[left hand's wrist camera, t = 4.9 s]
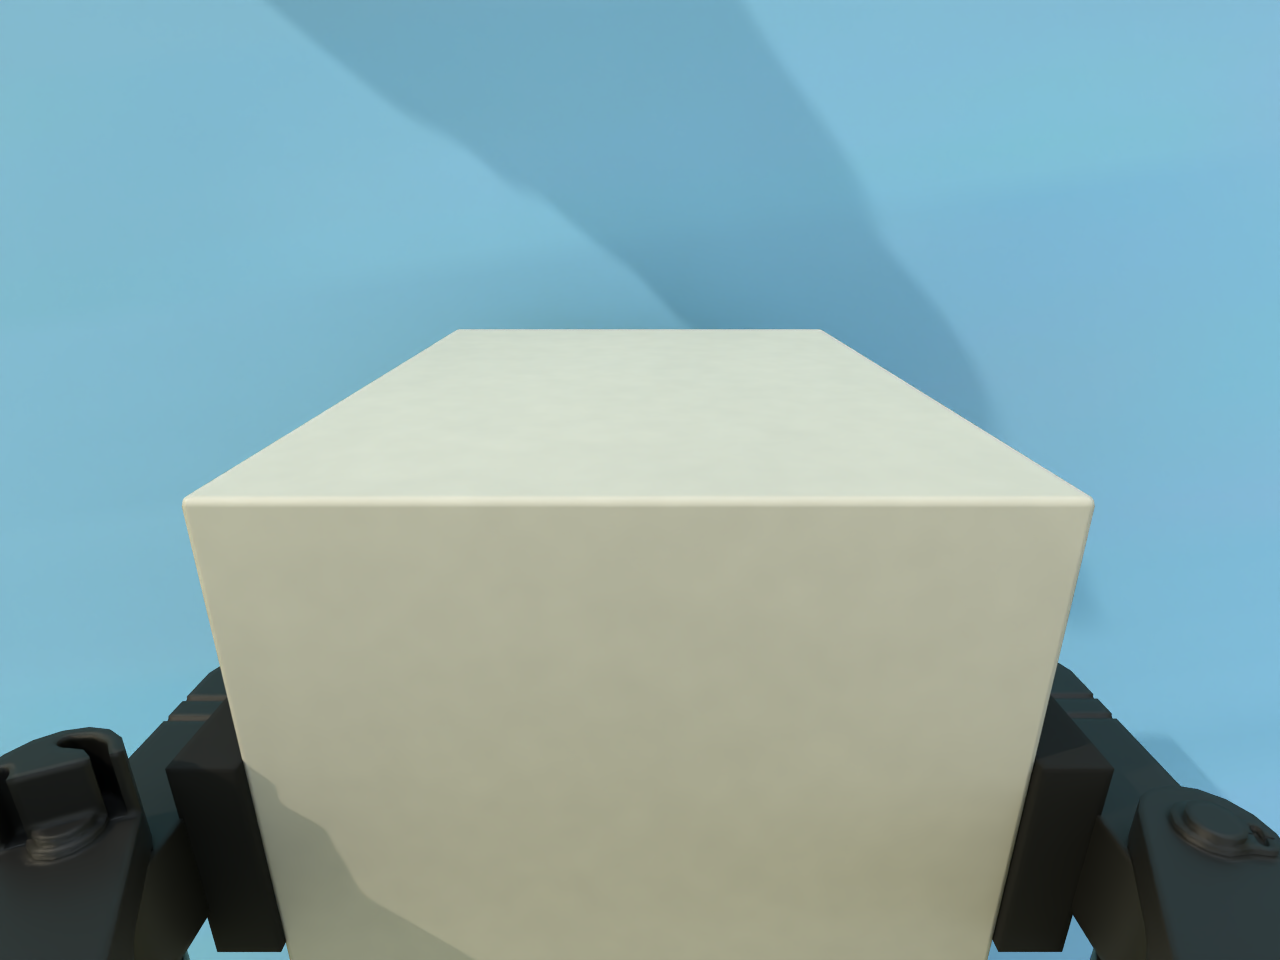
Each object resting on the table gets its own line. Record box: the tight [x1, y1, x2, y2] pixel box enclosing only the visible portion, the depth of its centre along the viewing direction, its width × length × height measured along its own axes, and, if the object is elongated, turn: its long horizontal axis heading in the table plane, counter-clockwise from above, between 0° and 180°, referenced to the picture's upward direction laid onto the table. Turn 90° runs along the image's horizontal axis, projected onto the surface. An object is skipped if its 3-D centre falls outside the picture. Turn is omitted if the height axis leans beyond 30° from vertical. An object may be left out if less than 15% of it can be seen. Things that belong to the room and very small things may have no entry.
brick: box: [182, 329, 1095, 960], centre depth 13 cm, size 8×9×11 cm
